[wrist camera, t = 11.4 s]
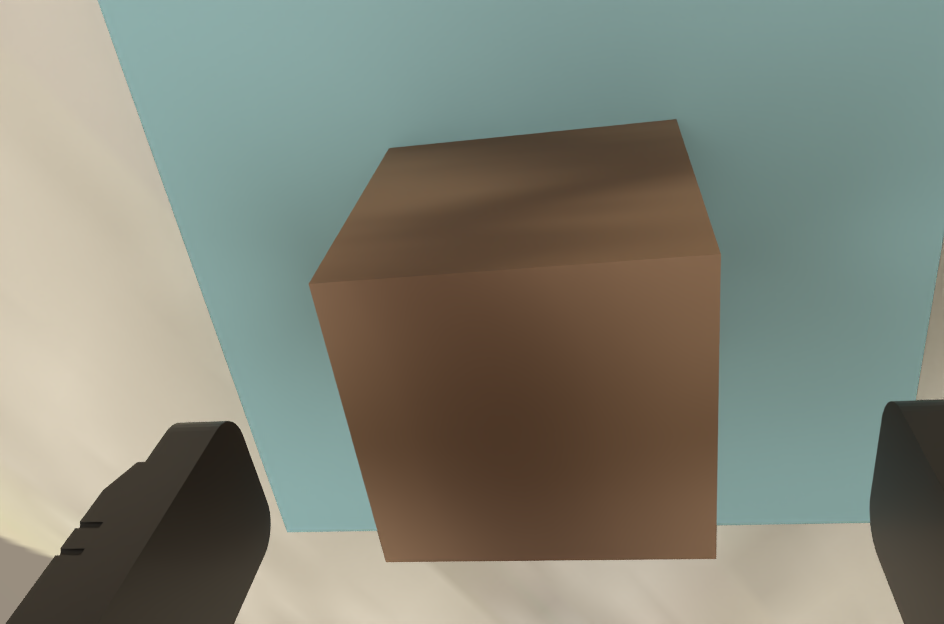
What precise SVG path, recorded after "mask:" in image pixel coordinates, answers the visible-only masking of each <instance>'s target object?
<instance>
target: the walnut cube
mask: <svg viewBox="0 0 944 624" xmlns="http://www.w3.org/2000/svg"><path fill="white" fill-rule="evenodd" d="M720 281H721V253H720V250H719V247H718V244H717V241H716V238H715V235H714V232H713V229H712V225H711V222H710V219H709V216H708V213H707V210H706V207H705V204H704V201H703V198H702V195H701V192H700V189H699V186H698V183H697V180H696V177H695V174H694V171H693V168H692V165H691V162H690V159H689V156H688V153H687V150H686V147H685V144H684V141H683V138H682V135H681V132H680V129H679V126H678V122H677V119H672V120H662V121H652V122H642V123H632V124H623V125H613V126H603V127H593V128H583V129H573V130H563V131H553V132H543V133H534V134H524V135H514V136H504V137H494V138H484V139H474V140H464V141H454V142H445V143H435V144H425V145H415V146H405V147H395V148H389V149H388V151H387V152H386V154H385V156H384V157H383V159H382V161H381V163H380V164H379V166H378V168H377V169H376V171H375V173H374V174H373V176H372V178H371V179H370V181H369V183H368V184H367V186H366V188H365V190H364V191H363V193H362V195H361V196H360V198H359V200H358V201H357V203H356V205H355V206H354V208H353V210H352V211H351V213H350V215H349V216H348V218H347V220H346V222H345V223H344V225H343V227H342V228H341V230H340V232H339V233H338V235H337V237H336V238H335V240H334V242H333V243H332V245H331V247H330V249H329V250H328V252H327V254H326V255H325V257H324V259H323V260H322V262H321V264H320V265H319V267H318V269H317V270H316V272H315V274H314V275H313V277H312V279H311V281H310V282H309V288H310V291H311V295H312V298H313V302H314V305H315V309H316V313H317V316H318V320H319V323H320V327H321V331H322V334H323V338H324V341H325V345H326V349H327V352H328V356H329V359H330V363H331V366H332V370H333V374H334V377H335V381H336V384H337V388H338V392H339V395H340V399H341V402H342V406H343V410H344V413H345V417H346V420H347V424H348V427H349V431H350V435H351V438H352V442H353V445H354V449H355V453H356V456H357V460H358V463H359V467H360V471H361V474H362V478H363V481H364V485H365V488H366V492H367V496H368V499H369V503H370V506H371V510H372V514H373V517H374V521H375V524H376V528H377V531H378V535H379V539H380V542H381V546H382V549H383V553H384V557H385V560H386V562H437V561H539V560H641V559H716V532H717V469H718V407H719V344H720Z"/></svg>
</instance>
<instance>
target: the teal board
mask: <svg viewBox="0 0 944 624" xmlns="http://www.w3.org/2000/svg"><path fill="white" fill-rule="evenodd" d="M98 2H99V5H100V8H101V11H102V14H103V16H104V19H105V22H106V25H107V28H108V31H109V33H110V36H111V39H112V42H113V45H114V47H115V50H116V53H117V56H118V59H119V61H120V64H121V67H122V70H123V73H124V75H125V78H126V81H127V84H128V87H129V89H130V92H131V95H132V98H133V101H134V103H135V106H136V109H137V112H138V115H139V117H140V120H141V123H142V126H143V129H144V132H145V134H146V137H147V140H148V143H149V146H150V148H151V151H152V154H153V157H154V160H155V162H156V165H157V168H158V171H159V174H160V176H161V179H162V182H163V185H164V188H165V190H166V193H167V196H168V199H169V202H170V204H171V207H172V210H173V213H174V216H175V218H176V221H177V224H178V227H179V230H180V233H181V235H182V238H183V241H184V244H185V247H186V249H187V252H188V255H189V258H190V261H191V263H192V266H193V269H194V272H195V275H196V277H197V280H198V283H199V286H200V289H201V291H202V294H203V297H204V300H205V303H206V305H207V308H208V311H209V314H210V317H211V319H212V322H213V325H214V328H215V331H216V334H217V336H218V339H219V342H220V345H221V348H222V350H223V353H224V356H225V359H226V362H227V364H228V367H229V370H230V373H231V376H232V378H233V381H234V384H235V387H236V390H237V392H238V395H239V398H240V401H241V404H242V406H243V409H244V412H245V415H246V418H247V420H248V423H249V426H250V429H251V432H252V435H253V437H254V440H255V443H256V446H257V449H258V451H259V454H260V457H261V460H262V463H263V465H264V468H265V471H266V474H267V477H268V479H269V482H270V485H271V488H272V491H273V493H274V496H275V499H276V502H277V505H278V507H279V510H280V513H281V516H282V519H283V521H284V524H285V527H286V530H287V532H329V531H377V528H376V524H375V521H374V517H373V514H372V510H371V506H370V503H369V499H368V496H367V492H366V488H365V485H364V481H363V478H362V474H361V471H360V467H359V463H358V460H357V456H356V453H355V449H354V445H353V442H352V438H351V435H350V431H349V427H348V424H347V420H346V417H345V413H344V410H343V406H342V402H341V399H340V395H339V392H338V388H337V384H336V381H335V377H334V374H333V370H332V366H331V363H330V359H329V356H328V352H327V349H326V345H325V341H324V338H323V334H322V331H321V327H320V323H319V320H318V316H317V313H316V309H315V305H314V302H313V298H312V295H311V291H310V288H309V282H310V281H311V279H312V277H313V275H314V274H315V272H316V270H317V269H318V267H319V265H320V264H321V262H322V260H323V259H324V257H325V255H326V254H327V252H328V250H329V249H330V247H331V245H332V243H333V242H334V240H335V238H336V237H337V235H338V233H339V232H340V230H341V228H342V227H343V225H344V223H345V222H346V220H347V218H348V216H349V215H350V213H351V211H352V210H353V208H354V206H355V205H356V203H357V201H358V200H359V198H360V196H361V195H362V193H363V191H364V190H365V188H366V186H367V184H368V183H369V181H370V179H371V178H372V176H373V174H374V173H375V171H376V169H377V168H378V166H379V164H380V163H381V161H382V159H383V157H384V156H385V154H386V152H387V151H388V149H389V148H395V147H405V146H415V145H425V144H435V143H445V142H454V141H464V140H474V139H484V138H494V137H504V136H514V135H524V134H534V133H543V132H553V131H563V130H573V129H583V128H593V127H603V126H613V125H623V124H632V123H642V122H652V121H662V120H672V119H677V122H678V126H679V129H680V132H681V135H682V138H683V141H684V144H685V147H686V150H687V153H688V156H689V159H690V162H691V165H692V168H693V171H694V174H695V177H696V180H697V183H698V186H699V189H700V192H701V195H702V198H703V201H704V204H705V207H706V210H707V213H708V216H709V219H710V222H711V225H712V229H713V232H714V235H715V238H716V241H717V244H718V247H719V250H720V253H721V281H720V344H719V407H718V469H717V525H761V524H823V523H870V511H869V506H870V494H871V487H872V481H873V474H874V467H875V460H876V454H877V447H878V440H879V433H880V427H881V420H882V414H883V411H884V408H885V406H886V404H887V403H888V402H890V401H913V400H916V395H917V389H918V383H919V377H920V372H921V366H922V360H923V354H924V348H925V342H926V336H927V331H928V325H929V319H930V313H931V307H932V301H933V295H934V290H935V284H936V278H937V272H938V266H939V260H940V254H941V249H942V243H943V237H944V0H98Z"/></svg>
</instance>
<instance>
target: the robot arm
mask: <svg viewBox="0 0 944 624" xmlns="http://www.w3.org/2000/svg"><path fill="white" fill-rule="evenodd" d="M869 511H870V525H871V532H872V538H873V542H874V546H875V549H876V553H877V555H878V558H879V561H880V563H881V566H882V568H883V571H884V573H885V576H886V579H887V581H888V584H889V586H890V589H891V591H892V594H893V597H894V599H895V602H896V604H897V607H898V609H899V612H900V614H901V617H902V620H903V622H904V624H944V400H913V401H890V402H888V403H887V404H886V406H885V408H884V411H883V414H882V420H881V427H880V433H879V440H878V447H877V454H876V460H875V467H874V474H873V481H872V487H871V494H870V506H869ZM270 526H271V523H270V511H269V506H268V503H267V500H266V497H265V495H264V492H263V489H262V486H261V484H260V481H259V478H258V475H257V473H256V470H255V467H254V464H253V462H252V459H251V456H250V453H249V451H248V448H247V445H246V443H245V440H244V437H243V435H242V432H241V430H240V429H239V427H238V426H237V425H236V424H235V423H233V422H231V421H219V422H189V423H176V424H174V425H172V426H171V427H170V428H169V429H168V430H167V432H166V433H165V434H164V436H163V437H162V439H161V440H160V442H159V443H158V444H157V446H156V447H155V449H154V450H153V452H152V453H151V454H150V456H149V457H148V459H147V460H146V462H137V463H136V464H135V465H134V466H132V467H131V468H130V469H129V470H127V471H126V472H125V473H124V474H122V475H121V476H120V477H119V478H118V479H116V480H115V481H114V482H113V483H111V484H110V485H109V486H108V487H106V488H105V489H104V490H103V491H102V493H101V494H100V495H99V497H98V498H97V499H96V501H95V502H94V503H93V505H92V506H91V508H90V509H89V510H88V512H87V513H86V514H85V516H84V517H83V518H82V520H81V521H80V528H75V529H74V531H73V532H72V534H71V535H70V536H69V538H68V539H67V540H66V542H65V543H64V544H63V546H62V547H61V554H60V555H59V556H55V557H54V558H53V560H52V561H51V562H50V564H49V565H48V566H47V568H46V569H45V570H44V572H43V573H42V575H41V576H40V577H39V579H38V580H37V581H36V583H35V584H34V586H33V587H32V588H31V590H30V591H29V592H28V594H27V595H26V596H25V598H24V599H23V601H22V602H21V603H20V605H19V606H18V607H17V609H16V610H15V611H14V613H13V614H12V616H11V617H10V618H9V620H8V621H7V622H6V624H234V622H235V620H236V618H237V616H238V613H239V611H240V609H241V607H242V604H243V602H244V600H245V598H246V595H247V593H248V591H249V589H250V586H251V584H252V582H253V580H254V577H255V575H256V573H257V571H258V569H259V566H260V564H261V562H262V560H263V557H264V555H265V552H266V550H267V546H268V542H269V537H270Z"/></svg>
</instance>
